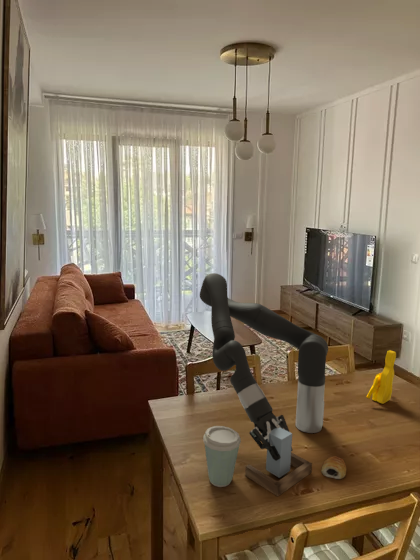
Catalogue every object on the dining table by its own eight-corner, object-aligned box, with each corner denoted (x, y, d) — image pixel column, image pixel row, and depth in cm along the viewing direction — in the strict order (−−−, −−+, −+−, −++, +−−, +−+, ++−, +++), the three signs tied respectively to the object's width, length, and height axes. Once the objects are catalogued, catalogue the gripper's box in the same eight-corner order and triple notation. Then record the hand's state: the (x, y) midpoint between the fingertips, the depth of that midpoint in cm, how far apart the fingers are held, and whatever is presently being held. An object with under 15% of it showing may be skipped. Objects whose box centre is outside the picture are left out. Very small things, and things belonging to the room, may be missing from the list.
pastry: (326, 459, 134) (327, 448, 133) (349, 465, 131) (350, 454, 130) (320, 475, 125) (321, 464, 125) (343, 483, 122) (344, 471, 122)
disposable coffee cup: (228, 465, 129) (229, 420, 126) (246, 487, 119) (248, 438, 117) (196, 474, 124) (197, 427, 122) (212, 497, 115) (213, 446, 112)
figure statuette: (382, 391, 183) (387, 343, 179) (400, 398, 177) (406, 347, 174) (361, 403, 172) (365, 351, 168) (379, 410, 166) (384, 357, 162)
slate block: (276, 463, 129) (278, 426, 127) (289, 470, 125) (292, 433, 123) (265, 469, 125) (267, 432, 123) (279, 477, 122) (281, 439, 120)
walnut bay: (279, 454, 135) (279, 446, 135) (311, 472, 126) (312, 463, 126) (245, 475, 124) (245, 466, 124) (277, 496, 116) (278, 486, 115)
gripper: (262, 400, 137) (291, 451, 130) (231, 414, 127) (260, 469, 121) (276, 390, 132) (306, 442, 125) (245, 404, 122) (276, 461, 116)
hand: (284, 455), depth 123 cm, fingers closed on slate block, 5 cm apart
